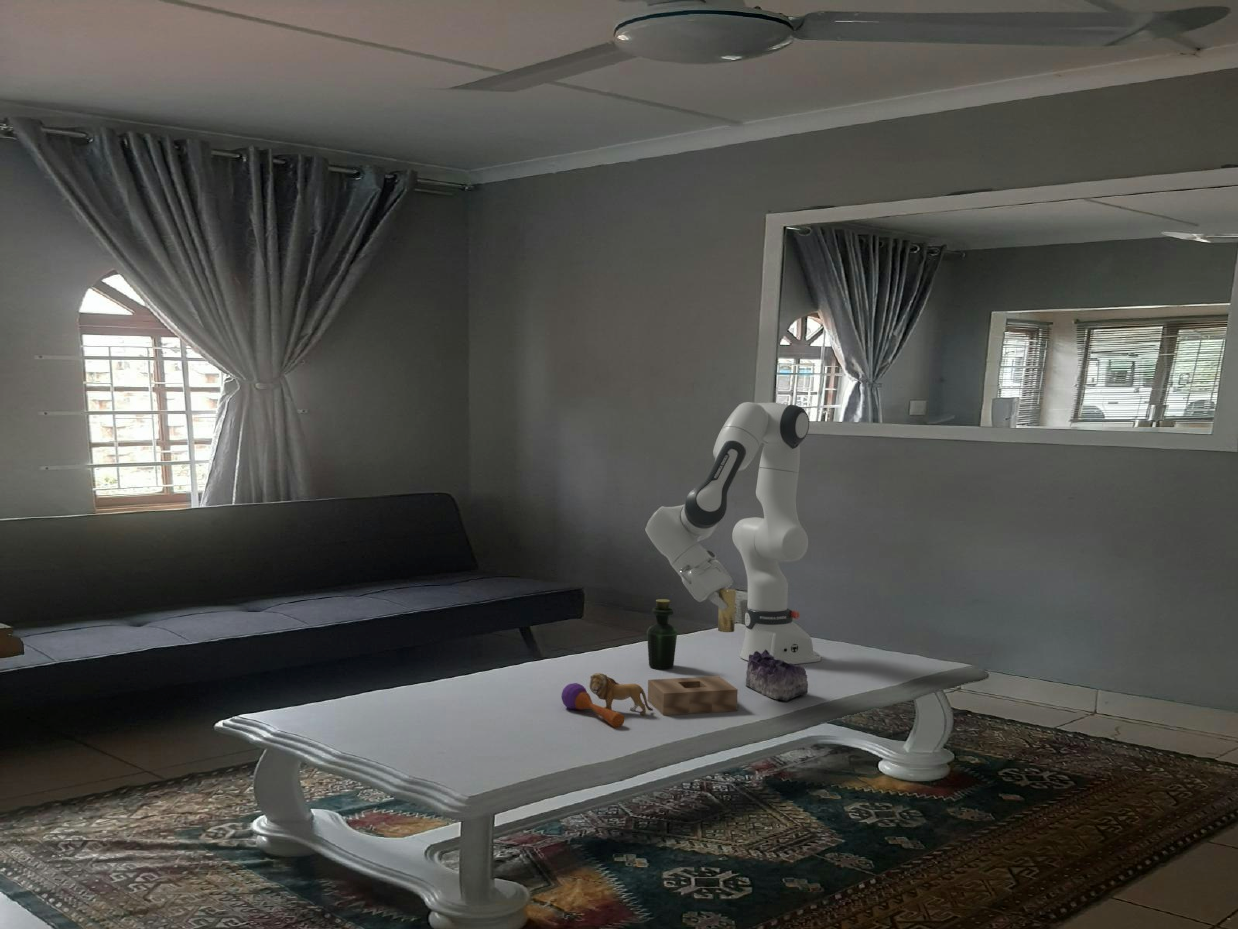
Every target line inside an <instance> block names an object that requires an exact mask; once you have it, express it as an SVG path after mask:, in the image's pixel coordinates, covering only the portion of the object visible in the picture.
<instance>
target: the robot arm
mask: <svg viewBox="0 0 1238 929" xmlns="http://www.w3.org/2000/svg"><path fill="white" fill-rule="evenodd" d="M809 428H810V418H809V416H808V413H807V412H806V410H805V409H804V408H803V407H801V406H798V405H796V404H787V403H786V404H785V403H779V402H774V401H773V402H771V401H770V402H752V401H746V402H745V401H744V402H741V403H740V404H738V405H737V407H735V409H734V410H733V411H732V412H731V414H730V415H729V416H728V418H727V419H726V420H725V423H724V424H723V425H722V428H721V429H720V432H719V433H718V436H717V438H716V440H715V443H714V445H713V450H712V455H713V458H714V459H715V460H714V462H713V464H712V465H711V468H710V469H709V472H708V473H707V475H706V476H705V479H704V480H703V481H702V482H701V483H700V484H698V485H697V486H695V487H694V488H693V489H692V490H690V492H689V493H688V494H687V497H686V500H685V502H684V504H681V505H676V506H664V505H662V506H660V507H658V508H656V509H655V510H654V511H653V513H652V514H650V516H649V517H648V519H647V520H646V523H645V526H644V530H645V533H646V535H647V537H648V538H649V539H650V541H651V543H652V544H653V546H654V547H655V548H656V549H657V551H658V552H659V553H660V554H661V555H663V556H664V557H665V558H666V559H667V560H668V561H669V564H670V566H671V567H672V569H674V571H675V572H676V573H677V575H678V576H679V577H680V578H681V582H682V583H683V585H684V587H685V588H686V589H687V591H688V592H689V594H690V595H691V597H692V598H694V600H696V601H697V602H699V603H701V602H704V601H706V600H709V601H710V602H711V604H714V605H715V606H717V608H718V609H719V608H720V609H721V610H722V611H724V610H725V609H726V608H728V604H727V603H726V602H725V600H724V601H723V600H722V599H721V598H720V597H719V590H720V589H729V588H730V587H731V586H732V585H733V583H734V581H733V578H732V576H731V575H730V574H729V572H728V571H727V569H725V567H724V565H723V564H722V563H721V562H720V561H719V560H718V559H717V558H718V557H717V554H716V553H715V552H714V551H713V550H709V549H706V548H704V547H703V546H702V545H701V543H700V542H701V541H704V540H705V539H708V538H709V537H711V535H713V533H714V532H715V530H716V527H717V526H718V524H719V523H720V521H722V519H723V518H724V517H725V515H726V512H727V509H728V508H727V507H728V500H727V499H728V493H729V489H730V487H731V486H732V483H733V482H734V480H735V477H736V475H737V474H738V472H739V471H743V470H746V468H747V467H748V466H749V464H751V462H752V461H753V459H754V458H755V456H756V455H757V453H758V451H759V449H760V447H761V445H762V444H763V448H762V451H761V455H760V460H759V465H758V473H757V482H756V486H755V487H756V488H755V497H756V498H757V500H758V501H759V502H760V505H761V507H762V510H763V517H757V516H753V517H745V518H741V519H740V520H738V521H737V522H736V523H735V525H734V527H733V529H732V534H731V536H732V537H731V539H732V542H733V544H734V546H735V548H736V549H737V550H738V552H739V554H740V556H741V559H742V562H743V565H744V568H745V572H746V581H747V603H746V604H747V606H746V607H745V615H744V625H745V634H744V638H743V643H742V648H741V652H740V653H739V657H740V658H741V659H743V660H745V661H749V655H750V654H751V655H753V654H754V652H755V651H758V652H759V653H761V654H762V653H763V652H764V650H765V649H766V650H767V651H768V652H769V654H770V655H772V656H774V659H775V660H781V661H784V662H786V663H788V664H789V663H791V664H793V665H799V664H806V663H807V664H808V663H818V662H821V661H822V656H821V655H820V654H819V653H818V652H816V651H814V645H813V641H812V638H811V636H810V635H809V634H808V633H807V632H806V631H805V630H804V629H803V628H802V627H800V626H799V625H797V624H796V623H795V622H793V619H795V620H798V619H799V618H800V615H801V614H800V613H799V611H796V610H791V609H789V608H788V595H789V594H788V593H789V590H788V588H789V587H788V586H789V583H788V579H787V578H786V576H785V575H784V574H783V572H782V570H781V568H780V565H779V562H780V563H786V562H787V563H788V562H796V561H797V562H798V561H799V560H801V559H802V558H803V557H804V556H805V555H806V553H807V551H808V547H809V537H808V534H807V532H806V531H805V529H804V528H803V526H802V525H801V522H800V519H799V515H798V511H797V490H798V482H799V481H798V480H799V474H800V473H799V472H800V465H801V464H800V463H801V461H800V460H801V447H800V446H801V443H802V442H803V441H804V440H805V438H806V437H807V435H808V433H809Z"/></svg>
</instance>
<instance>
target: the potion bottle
mask: <svg viewBox="0 0 1238 929" xmlns="http://www.w3.org/2000/svg"><path fill="white" fill-rule="evenodd" d="M670 603H671V600H670V599H665V598H664V599H663V598H661V599H656V600H655V604H656V607H653V608H652V611H651V614H652V615H655V619H656V623H655V624H652V625H651V626H649V627H648V628H647V630H646V637H647V639H646V640H647V652H648V653H647V655H648V666H649V667H650V668H651V669H654V670H661V671H663V670H666V671H667V670H670V669H673V667H674V664H675V654H676V646H677V636H678V631H677V630H676V628H675V627H674V626H672V625H671V624H669V619H670V616H671V615H674V610H673V608H671V607H670Z"/></svg>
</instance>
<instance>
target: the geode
mask: <svg viewBox="0 0 1238 929" xmlns="http://www.w3.org/2000/svg"><path fill="white" fill-rule="evenodd" d="M747 661H748V660H747ZM745 686H746V687H748V688H750V689H751V690H753V691H756V692H758V693H759V694H761V695H762V696H766V697H768V698H771V699H774V700H780V701H782V702H787V701H789V700H791V699H794V698H795V697H799V696H803V695H806V694H808V691H809V690H808V689H809V682H808V675H807V671H806V669H805V668H804V667H803V666H801V665H795V664H791V663H789V664H788V663H786V662H784V661H781V660H775V659H774V656H772V655H770V654H769V652H768V651H767V650H766V649H765V650H764V652H763V653H762V654H761V653H759V652H758V651H755V652H754V654H753V655H751V654H750V655H749V661H748V662H747V667H746V678H745Z"/></svg>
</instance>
